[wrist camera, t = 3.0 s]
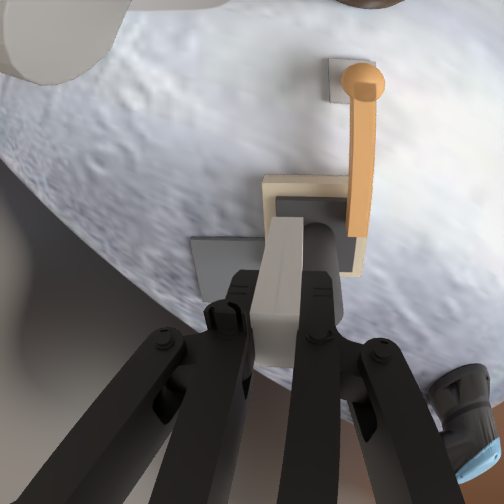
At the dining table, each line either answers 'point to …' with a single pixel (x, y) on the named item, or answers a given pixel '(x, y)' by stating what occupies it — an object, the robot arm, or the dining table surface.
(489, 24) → the dining table surface
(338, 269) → the plug
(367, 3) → the plant pot
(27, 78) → the alarm clock
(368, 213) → the orange lever handle
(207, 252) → the mat
